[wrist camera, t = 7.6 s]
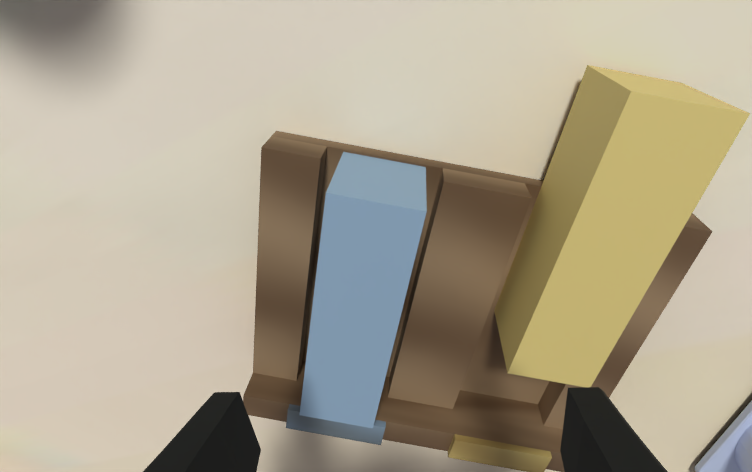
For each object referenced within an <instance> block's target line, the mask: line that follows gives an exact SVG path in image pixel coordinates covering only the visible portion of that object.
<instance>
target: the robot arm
mask: <svg viewBox="0 0 752 472" xmlns="http://www.w3.org/2000/svg"><path fill="white" fill-rule="evenodd" d="M260 451H261V449H260V446H259V443H258V441H257V438H256V435H255V433H254V430H253V427H252V425H251V422H250V419H249V417H248V414H247V411H246V408H245V406H244V403H243V400H242V398H241V395H240V392H217V393H214V394H213V395H212V396H211V397H210V398H209V399H208V400H207V401H206V402H205V403H204V405H203V406H202V407H201V408H200V409H199V410H198V411H197V412H196V413H195V415H194V416H193V417H192V418H191V419H190V420H189V421H188V423H187V424H186V425H185V426H184V427H183V428H182V429H181V430H180V432H179V433H178V434H177V435H176V436H175V437H174V438H173V439H172V441H171V442H170V443H169V444H168V445H167V446H166V447H165V448H164V450H163V451H162V452H161V453H160V454H159V455H158V456H157V457H156V458H155V459H154V460H153V462H152V463H151V464H150V465H149V466H148V467H147V468H146V469H145V470H144V471H143V472H256V470H257V465H258V461H259V456H260ZM560 452H561V457H562V461H563V466H564V471H565V472H667V470H666V469H665V468H664V467H663V466H662V465H661V463H660V462H659V461H658V460H657V459H656V457H655V456H654V455H653V454H652V453H651V451H650V450H649V449H648V448H647V447H646V445H645V444H644V443H643V442H642V440H641V439H640V438H639V437H638V435H637V434H636V433H635V432H634V430H633V429H632V428H631V427H630V425H629V424H628V423H627V421H626V420H625V419H624V418H623V416H622V415H621V414H620V412H619V411H618V410H617V408H616V407H615V406H614V404H613V403H612V402H611V400H610V399H609V398H608V396H607V395H606V394H605V392H604V391H603V390H602V389H600V388H599V387H576V388H568V391H567V399H566V407H565V416H564V424H563V432H562V440H561V448H560ZM695 471H696V472H752V401H751V402H750V403H749V404H748V405H747V406H746V408H745V409H744V410H743V411H742V412H741V413H740V415H739V416H738V417H737V418H736V419H735V420H734V422H733V423H732V424H731V425H730V426H729V427H728V429H727V430H726V431H725V432H724V433H723V434H722V435H721V437H720V438H719V439H718V440H717V441H716V442H715V444H714V445H713V446H712V447H711V448H710V449H709V451H708V452H707V453H706V454H705V455H704V456H703V458H702V459H701V460H700V461H699V462H698V463H697V465H696V466H695Z"/></svg>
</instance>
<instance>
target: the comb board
mask: <svg viewBox="0 0 752 472" xmlns="http://www.w3.org/2000/svg"><path fill="white" fill-rule="evenodd" d="M343 152H348V153H353V154H359V155H364V156H369V157H375V158H380V159H385V160H391V161H396V162H401V163H407V164H412V165H417V166H423V167H426V201H427V212H426V216H425V220H424V225H423V229H422V233H421V237H420V241H419V245H418V249H417V253H416V257H415V261H414V265H413V269H412V273H411V277H410V281H409V285H408V289H407V293H406V297H405V301H404V305H403V309H402V313H401V317H400V321H399V325H398V329H397V333H396V337H395V341H394V345H393V349H392V353H391V357H390V361H389V365H388V369H387V373H386V377H385V382H384V386H383V390H382V394H381V398H380V402H379V406H378V410H377V414H376V418H375V422H374V426H373V428H368V427H362V426H357V425H351V424H346V423H340V422H335V421H329V420H324V419H318V418H313V417H307V416H302V415H300V406H301V398H302V390H303V381H304V373H305V364H306V356H307V347H308V339H309V331H310V322H311V314H312V305H313V297H314V289H315V280H316V272H317V263H318V255H319V247H320V238H321V230H322V221H323V213H324V205H325V196H326V191H327V189H328V187H329V184H330V182H331V180H332V177H333V175H334V173H335V170H336V168H337V165H338V163H339V161H340V158H341V156H342V154H343ZM542 184H543V181H541V180H536V179H530V178H525V177H520V176H514V175H509V174H504V173H498V172H493V171H488V170H482V169H477V168H471V167H466V166H461V165H455V164H450V163H445V162H439V161H434V160H429V159H423V158H418V157H413V156H407V155H402V154H397V153H391V152H386V151H380V150H375V149H370V148H364V147H359V146H354V145H348V144H343V143H338V142H332V141H327V140H322V139H316V138H311V137H306V136H300V135H295V134H289V133H284V132H279V131H276V132H275V133H274V134H273V135H272V136H271V137H270V139H269V140H268V141H267V142H266V143H265V144H264V145H263V146H262V150H261V176H260V202H259V229H258V255H257V282H256V308H255V335H254V361H253V374H252V377H251V379H250V381H249V384H248V386H247V389H246V391H245V393H244V397H243V403H244V406H245V408H246V411H247V414H248V415H251V416H257V417H263V418H268V419H274V420H279V421H285V422H287V423H286V428H289V429H295V430H300V431H306V432H311V433H317V434H322V435H328V436H333V437H339V438H344V439H350V440H356V441H361V442H367V443H372V444H378V445H381V442H382V439H384V440H389V441H395V442H400V443H406V444H411V445H417V446H422V447H428V448H433V449H439V450H444V451H448V457H449V458H455V459H460V460H466V461H471V462H477V463H482V464H488V465H493V466H499V467H505V468H510V469H516V470H521V471H527V472H544V471H545V469H549V470H555V471H560V472H565V471H564V466H563V461H562V457H561V452H560V448H561V440H562V432H563V424H564V416H565V407H566V399H567V391H568V388H576V387H580V386H575V385H569V384H564V383H558V382H553V381H547V380H542V379H536V378H531V377H525V376H520V375H515V374H509V373H507V368H506V364H505V359H504V354H503V350H502V345H501V340H500V335H499V331H498V326H497V321H496V316H495V312H494V310H495V307H496V305H497V302H498V299H499V297H500V294H501V291H502V289H503V286H504V284H505V281H506V278H507V276H508V273H509V270H510V268H511V265H512V262H513V260H514V257H515V255H516V252H517V249H518V247H519V244H520V241H521V239H522V236H523V234H524V231H525V228H526V226H527V223H528V220H529V218H530V215H531V213H532V210H533V207H534V205H535V202H536V199H537V197H538V194H539V192H540V189H541V186H542ZM711 233H712V231H711V230H710V229H709V228H708V227H707V226H706V225H705V224H704V223H702V222H701V221H700V220H699V219H698V218H697V217H696V216H695V215H694V214H693V213H692V214H691V216H690V217H689V219H688V221H687V223H686V224H685V226H684V228H683V229H682V231H681V233H680V235H679V236H678V238H677V240H676V241H675V243H674V245H673V247H672V248H671V250H670V252H669V253H668V255H667V257H666V259H665V260H664V262H663V264H662V265H661V267H660V269H659V271H658V272H657V274H656V276H655V277H654V279H653V281H652V283H651V284H650V286H649V288H648V289H647V291H646V293H645V295H644V296H643V298H642V300H641V302H640V303H639V305H638V307H637V308H636V310H635V312H634V314H633V315H632V317H631V319H630V320H629V322H628V324H627V326H626V327H625V329H624V331H623V332H622V334H621V336H620V338H619V339H618V341H617V343H616V344H615V346H614V348H613V350H612V351H611V353H610V355H609V356H608V358H607V360H606V362H605V363H604V365H603V367H602V368H601V370H600V372H599V374H598V375H597V377H596V379H595V380H594V382H593V384H592V386H591V387H599V388H600V389H602V390H603V391H604V392H605V394H606V395H607V396H608V398H609V397H610V395H611V394H612V392H613V390H614V389H615V387H616V386H617V384H618V382H619V381H620V379H621V377H622V376H623V374H624V373H625V371H626V369H627V368H628V366H629V365H630V363H631V361H632V360H633V358H634V357H635V355H636V353H637V352H638V350H639V349H640V347H641V345H642V344H643V342H644V341H645V339H646V337H647V336H648V334H649V333H650V331H651V329H652V328H653V326H654V324H655V323H656V321H657V320H658V318H659V316H660V315H661V313H662V312H663V310H664V308H665V307H666V305H667V304H668V302H669V300H670V299H671V297H672V296H673V294H674V292H675V291H676V289H677V288H678V286H679V284H680V283H681V281H682V280H683V278H684V276H685V275H686V273H687V272H688V270H689V268H690V267H691V265H692V263H693V262H694V260H695V259H696V257H697V255H698V254H699V252H700V251H701V249H702V247H703V246H704V244H705V243H706V241H707V239H708V238H709V236H710V235H711Z"/></svg>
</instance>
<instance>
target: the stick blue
mask: <svg viewBox="0 0 752 472" xmlns="http://www.w3.org/2000/svg"><path fill="white" fill-rule="evenodd" d="M426 212H427V201H426V167H423V166H417V165H412V164H407V163H401V162H396V161H391V160H385V159H380V158H375V157H369V156H364V155H359V154H353V153H348V152H343V154H342V156H341V158H340V161H339V163H338V165H337V168H336V170H335V173H334V175H333V177H332V180H331V182H330V184H329V187H328V189H327V191H326V196H325V205H324V213H323V221H322V230H321V238H320V247H319V255H318V263H317V272H316V280H315V289H314V297H313V305H312V314H311V322H310V331H309V339H308V347H307V356H306V364H305V373H304V381H303V390H302V398H301V406H300V415H302V416H307V417H313V418H318V419H324V420H329V421H335V422H340V423H346V424H351V425H357V426H362V427H368V428H373V426H374V422H375V418H376V414H377V410H378V406H379V402H380V398H381V394H382V390H383V386H384V382H385V377H386V373H387V369H388V365H389V361H390V357H391V353H392V349H393V345H394V341H395V337H396V333H397V329H398V325H399V321H400V317H401V313H402V309H403V305H404V301H405V297H406V293H407V289H408V285H409V281H410V277H411V273H412V269H413V265H414V261H415V257H416V253H417V249H418V245H419V241H420V237H421V233H422V229H423V225H424V220H425V216H426Z"/></svg>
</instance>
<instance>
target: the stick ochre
mask: <svg viewBox="0 0 752 472" xmlns="http://www.w3.org/2000/svg"><path fill="white" fill-rule="evenodd" d="M749 114H750V113H747V112H745V111H743V110H741V109H738V108H736V107H734V106H732V105H730V104H727V103H725V102H723V101H721V100H718V99H716V98H714V97H712V96H709V95H707V94H705V93H703V92H700V91H698V90H696V89H694V88H692V87H689V86H687V85H685V84H683V83H679V82H673V81H668V80H663V79H658V78H652V77H647V76H642V75H636V74H631V73H626V72H621V71H615V70H610V69H605V68H599V67H594V66H589V65H587V68H586V71H585V73H584V76H583V78H582V81H581V84H580V86H579V89H578V92H577V94H576V97H575V99H574V102H573V105H572V107H571V110H570V113H569V115H568V118H567V121H566V123H565V126H564V128H563V131H562V134H561V136H560V139H559V142H558V144H557V147H556V149H555V152H554V155H553V157H552V160H551V163H550V165H549V168H548V170H547V173H546V176H545V178H544V181H543V184H542V186H541V189H540V192H539V194H538V197H537V199H536V202H535V205H534V207H533V210H532V213H531V215H530V218H529V220H528V223H527V226H526V228H525V231H524V234H523V236H522V239H521V241H520V244H519V247H518V249H517V252H516V255H515V257H514V260H513V262H512V265H511V268H510V270H509V273H508V276H507V278H506V281H505V284H504V286H503V289H502V291H501V294H500V297H499V299H498V302H497V305H496V307H495V310H494V312H495V316H496V321H497V326H498V331H499V335H500V340H501V345H502V350H503V354H504V359H505V364H506V368H507V373H509V374H515V375H520V376H525V377H531V378H536V379H542V380H547V381H553V382H558V383H564V384H569V385H575V386H580V387H591V386H592V384H593V382H594V380H595V379H596V377H597V375H598V374H599V372H600V370H601V368H602V367H603V365H604V363H605V362H606V360H607V358H608V356H609V355H610V353H611V351H612V350H613V348H614V346H615V344H616V343H617V341H618V339H619V338H620V336H621V334H622V332H623V331H624V329H625V327H626V326H627V324H628V322H629V320H630V319H631V317H632V315H633V314H634V312H635V310H636V308H637V307H638V305H639V303H640V302H641V300H642V298H643V296H644V295H645V293H646V291H647V289H648V288H649V286H650V284H651V283H652V281H653V279H654V277H655V276H656V274H657V272H658V271H659V269H660V267H661V265H662V264H663V262H664V260H665V259H666V257H667V255H668V253H669V252H670V250H671V248H672V247H673V245H674V243H675V241H676V240H677V238H678V236H679V235H680V233H681V231H682V229H683V228H684V226H685V224H686V223H687V221H688V219H689V217H690V216H691V214H692V212H693V211H694V209H695V207H696V205H697V204H698V202H699V200H700V199H701V197H702V195H703V193H704V192H705V190H706V188H707V187H708V185H709V183H710V181H711V180H712V178H713V176H714V175H715V173H716V171H717V169H718V168H719V166H720V164H721V162H722V161H723V159H724V157H725V156H726V154H727V152H728V150H729V149H730V147H731V145H732V144H733V142H734V140H735V138H736V137H737V135H738V133H739V132H740V130H741V128H742V126H743V125H744V123H745V121H746V120H747V118H748V116H749Z"/></svg>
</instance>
